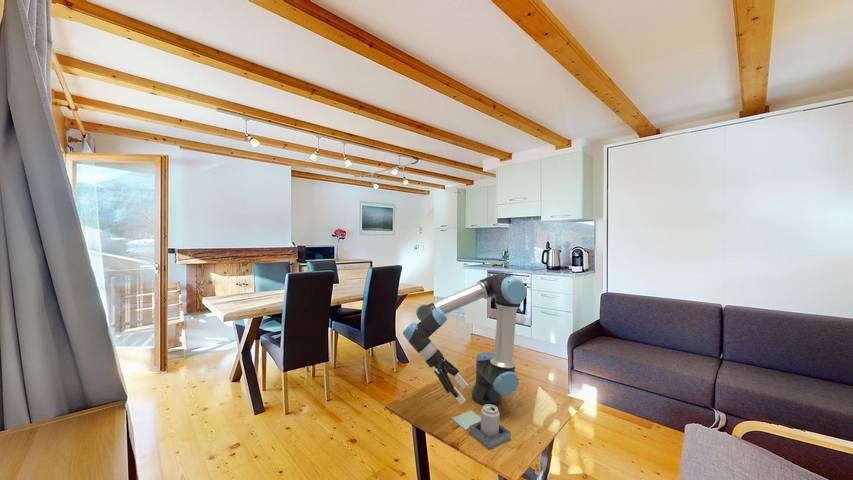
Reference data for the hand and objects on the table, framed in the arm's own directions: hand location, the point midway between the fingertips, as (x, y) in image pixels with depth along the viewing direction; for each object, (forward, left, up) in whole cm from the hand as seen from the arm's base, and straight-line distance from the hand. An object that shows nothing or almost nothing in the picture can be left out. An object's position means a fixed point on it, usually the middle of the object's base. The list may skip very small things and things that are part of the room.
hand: (464, 394), depth 133 cm
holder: (-8, +8, -16) cm, 20 cm away
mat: (-8, -5, -16) cm, 19 cm away
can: (-8, +8, -16) cm, 20 cm away
